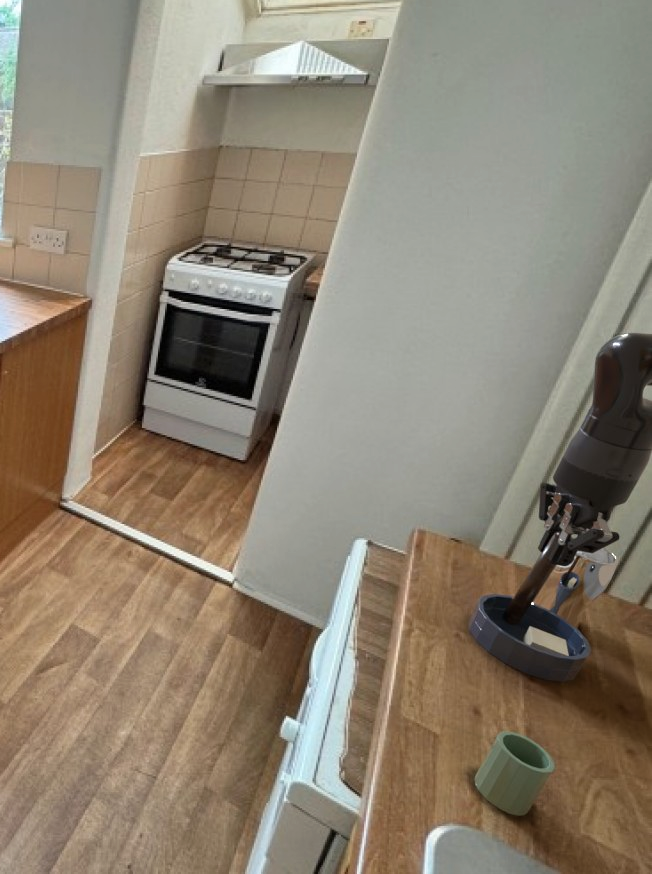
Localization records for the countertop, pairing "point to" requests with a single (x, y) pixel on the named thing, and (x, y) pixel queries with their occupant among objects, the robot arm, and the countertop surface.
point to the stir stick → (531, 584)
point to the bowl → (520, 655)
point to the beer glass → (577, 584)
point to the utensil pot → (514, 773)
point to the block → (545, 641)
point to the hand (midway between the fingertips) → (552, 557)
